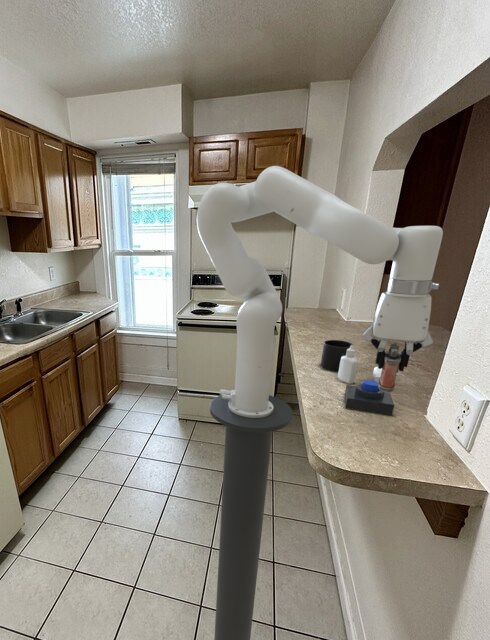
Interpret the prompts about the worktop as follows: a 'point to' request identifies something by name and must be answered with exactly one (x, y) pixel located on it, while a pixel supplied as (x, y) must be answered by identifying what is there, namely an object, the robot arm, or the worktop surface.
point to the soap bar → (377, 374)
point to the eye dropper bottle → (348, 367)
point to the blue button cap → (370, 385)
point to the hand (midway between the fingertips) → (390, 367)
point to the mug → (333, 354)
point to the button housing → (368, 400)
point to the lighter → (389, 369)
